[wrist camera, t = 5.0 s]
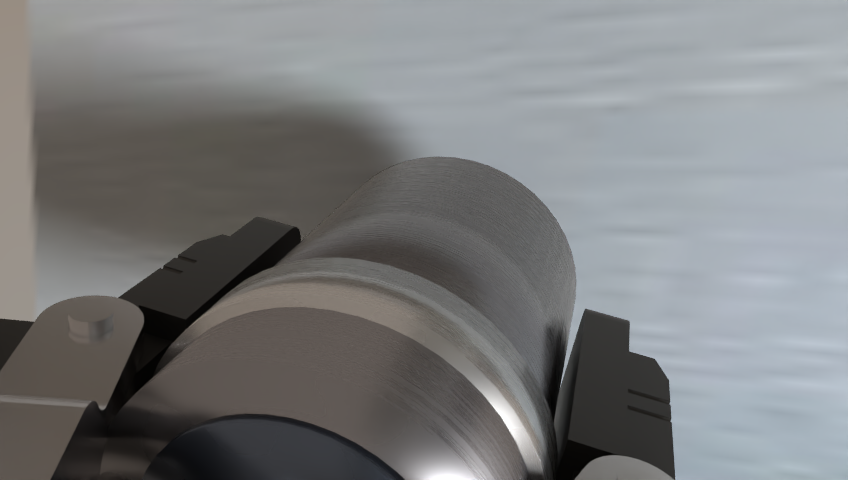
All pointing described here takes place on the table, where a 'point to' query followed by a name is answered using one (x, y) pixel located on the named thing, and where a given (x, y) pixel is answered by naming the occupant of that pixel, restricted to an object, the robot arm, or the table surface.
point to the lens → (374, 347)
